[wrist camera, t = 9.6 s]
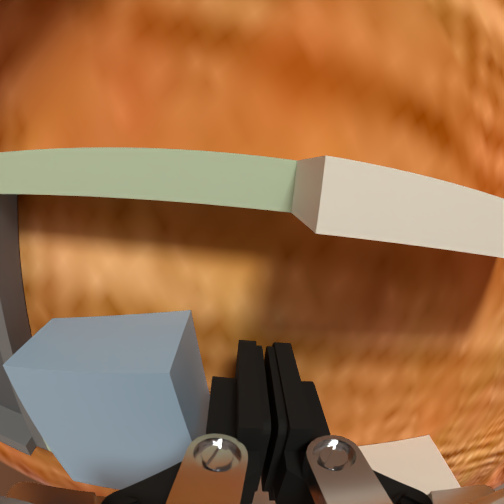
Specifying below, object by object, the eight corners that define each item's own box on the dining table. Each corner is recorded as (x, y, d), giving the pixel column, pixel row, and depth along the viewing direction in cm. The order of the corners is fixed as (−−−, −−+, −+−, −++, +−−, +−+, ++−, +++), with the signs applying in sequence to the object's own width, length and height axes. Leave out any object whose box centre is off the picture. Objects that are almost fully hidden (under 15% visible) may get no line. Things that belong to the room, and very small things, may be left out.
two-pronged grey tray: (507, 209, 10) (583, 230, 6) (419, 450, 14) (448, 504, 9) (-79, 165, 9) (-137, 174, 4) (-39, 387, 12) (-74, 424, 8)
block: (191, 307, 11) (169, 372, 7) (218, 425, 13) (213, 496, 9) (56, 315, 11) (2, 365, 7) (100, 422, 13) (73, 480, 9)
